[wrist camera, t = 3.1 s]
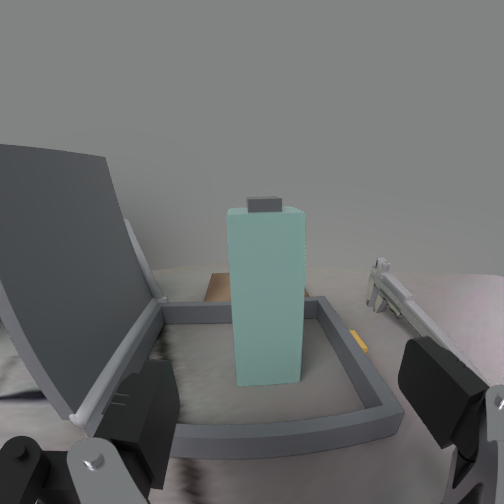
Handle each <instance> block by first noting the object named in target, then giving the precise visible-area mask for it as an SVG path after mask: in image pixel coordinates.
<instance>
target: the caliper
mask: <svg viewBox="0 0 504 504" xmlns="http://www.w3.org/2000/svg"><path fill="white" fill-rule="evenodd" d="M390 264H391V263H385V258H378V259H377V263H376V265H373V267H372V271H371V274H370V278H369V285H368V294H367V305H368V306H374V305H375V308H374V312H375V313H377V312H382V311H383V310H384V309H385V307H386V305H387V304H388V305H389V307H390V309H391V311H392V312H394V313H395V315H396V317H397V318H398V319H400V318H406V319H407V320H408V322H409V323H410V324H411V325H412V326H413V327H414V328H415V329H416V331H417V332H418V333H419V334H420V335H421V336H422V337H424V336H429V337H431V338H432V339H433V340H434V341H435V342H436V343H437V344H438V345H440V346H441V347H443V348H445V349H447V350H449V351H451V352H452V353H454V354H455V355H456V356H457V357H458V358H459V359H460V361H462V362H463V363H465V364H466V367H469V368H470V369H471V370H472V371H473V372H474V373H475V374H476V375H478V376H479V377H480V378H481V379H482V380H483V381H484V382H485V383H486V384H487V385H488V386H489V387H491V385H490V384H489V383H488V381H487V380H486V379H485V378H484V377H483V375H482V374H481V373H480V372H479V371H478V369H477V368H476V367H475V366H474V365H473V364H472V362H471V361H470V360H469V359H468V358H467V357H466V355H465V354H464V353H463V352H462V351H461V350H460V349H459V348H458V346H457V345H456V344H455V343H454V342H453V341H452V340H451V339H450V338H449V337H448V336H447V335H446V333H445V332H444V331H443V330H442V329H441V328H440V327H439V326H438V325H437V324H436V323H435V322H434V321H433V320H432V319H431V318H430V317H429V316H428V315H427V314H426V313H425V312H424V311H423V310H422V309H421V308H420V307H419V306H418V305H417V304H416V303H415V302H414V301H413V295H412V294H411V293H410V292H409V291H408V290H407V289H406V288H405V287H404V286H403V285H402V284H401V283H400V282H399V281H398V280H397V279H396V278H395V277H394V276H393V275H392V274H388V271H389V268H390Z"/></svg>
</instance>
